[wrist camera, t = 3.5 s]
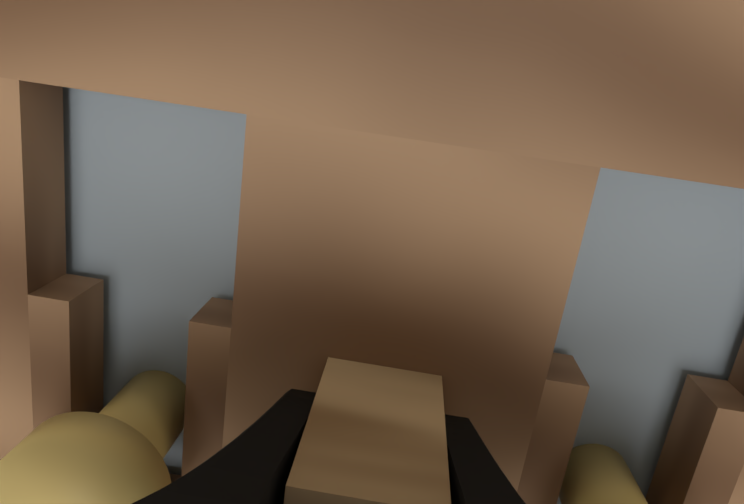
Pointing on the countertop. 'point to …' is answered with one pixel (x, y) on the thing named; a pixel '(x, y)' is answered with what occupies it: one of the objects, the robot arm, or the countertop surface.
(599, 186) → the boss board
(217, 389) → the panel
